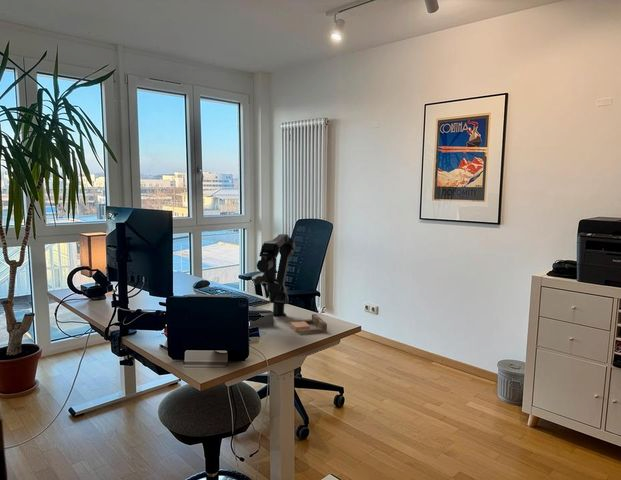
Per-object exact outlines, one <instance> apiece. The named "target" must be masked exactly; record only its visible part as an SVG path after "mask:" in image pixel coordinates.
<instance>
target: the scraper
mask: <svg viewBox="0 0 621 480" xmlns="http://www.w3.org/2000/svg"><path fill="white" fill-rule="evenodd" d="M260 314H261V316H264V317H261V318H259V319H258V320H256V321H252V320H250V326H251V327H261V326H263V327H264V326H273V327H277V319H276V318H275V316H274V315H273V313H271V312H269V313H268V312H267V313H266V312H265V313H260Z"/></svg>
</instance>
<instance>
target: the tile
mask: <svg viewBox="0 0 621 480" xmlns="http://www.w3.org/2000/svg"><path fill="white" fill-rule="evenodd" d="M290 328H291V329H292V330H293V331H294V332H296V333H298V330H301V329H311V326H310V325H309V324H307V323H306V322H305V321H303V322H291V324H290Z"/></svg>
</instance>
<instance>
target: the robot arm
mask: <svg viewBox="0 0 621 480" xmlns="http://www.w3.org/2000/svg"><path fill="white" fill-rule="evenodd" d="M295 251H296V242H295V240H294V239H292V238H291V237H290V235H288V234H287V233H285V234H284V233H279V234H278V235H277V236H276V237H275V238H273V239H272V240H266V241H264V242H262V245H261V249H260V251H259V252H260V253H259V258H260V259H259V260H258V261H257V263H256V268H257V270H258V271H259V272H260V273H258V274H255V275H252V276H251V280H252V282H253V285H255V286H257V285H259V284H260V285H261V286H262V287H263V290H264V291H263V292H264V294H265V295H264V296H265V298H266V299H269V303H270V304H272V311H270V313H273V315H274V317H284V316H285V317H286V316H287V313H285V305H287V304H289V296H288V293H287V288H286V286H285V283H286V279H287V278H286V277H287V272H288V267H289V262H290V258H291V257H292V256H293V255H294V252H295ZM279 255H280V257H279V262H278V266H277V259H278V258H277V257H278V256H279ZM277 267H278V268H277Z"/></svg>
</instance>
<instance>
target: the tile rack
mask: <svg viewBox="0 0 621 480" xmlns="http://www.w3.org/2000/svg"><path fill="white" fill-rule="evenodd" d="M303 321H305V322H306V323H307V324H308V325H309V324H310V325H311V324H312V325H314V326H315V327H316V328H310V329H301V330H298V332H297V334H299V335H309V334H311V335H312V334H320V333H322V334H323V333H327V330H328V324H327V322H326V321H325V320H324V319H323V318H321V317H320V316H319V315H318V314H316V313H312V314H311V318H310V319H309V318H308V319H296V320H295V319H294V320H289V325H291V322H303Z"/></svg>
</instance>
